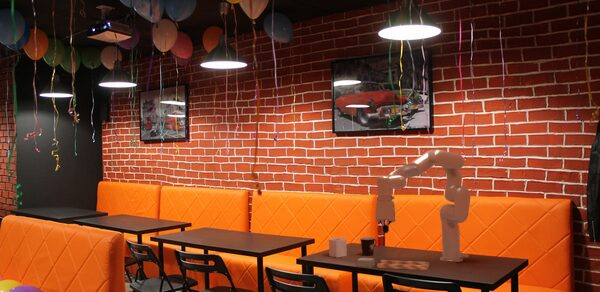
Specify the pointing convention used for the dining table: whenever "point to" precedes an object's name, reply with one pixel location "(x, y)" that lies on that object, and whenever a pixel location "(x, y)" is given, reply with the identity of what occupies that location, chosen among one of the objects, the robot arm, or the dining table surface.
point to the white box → (337, 247)
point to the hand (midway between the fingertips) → (385, 232)
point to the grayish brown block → (366, 262)
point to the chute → (403, 265)
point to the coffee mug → (367, 246)
